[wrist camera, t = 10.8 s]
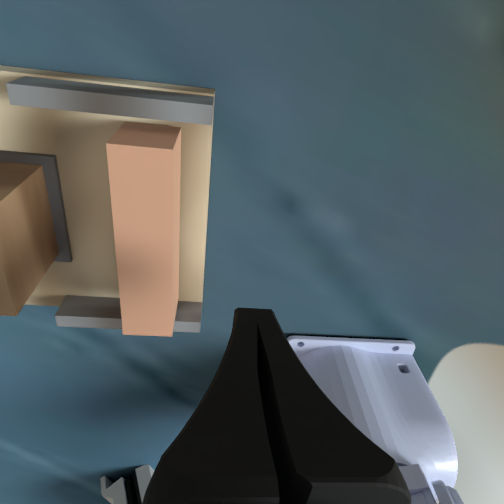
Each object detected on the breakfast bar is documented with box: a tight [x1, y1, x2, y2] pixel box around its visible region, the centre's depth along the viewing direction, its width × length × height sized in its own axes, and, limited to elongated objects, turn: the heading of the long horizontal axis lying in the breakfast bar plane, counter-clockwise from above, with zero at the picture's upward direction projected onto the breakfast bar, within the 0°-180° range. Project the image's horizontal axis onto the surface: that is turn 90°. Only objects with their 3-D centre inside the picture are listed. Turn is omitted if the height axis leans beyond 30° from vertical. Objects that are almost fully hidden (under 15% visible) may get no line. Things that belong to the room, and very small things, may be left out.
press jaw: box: [106, 122, 181, 337], centre depth 19 cm, size 2×10×3 cm, turn 173°
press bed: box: [0, 65, 215, 333], centre depth 18 cm, size 16×13×6 cm
